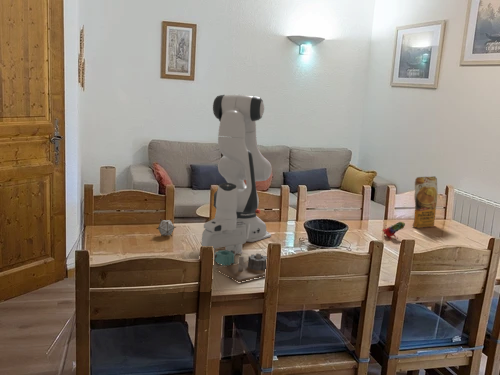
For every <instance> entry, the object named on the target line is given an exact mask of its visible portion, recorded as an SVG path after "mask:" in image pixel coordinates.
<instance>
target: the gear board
mask: <svg viewBox="0 0 500 375" xmlns="http://www.w3.org/2000/svg"><path fill="white" fill-rule="evenodd" d="M267 258H268V257H267V255H264V254H262V253H261V252H257V253H256V254H251V255H249V256H248V260H247V261H244V256H238V262H237V263H233V264H231V265H224V266H223V265H222V266H219V267H217V272H218V271H220V272H221V273H220V272H219V273H220V274H222V273H223V274H222V275H224V274H225V275H227V276H229V277H231V278H233V279H234V280H236V281H238V282H242V281H246V280H250V279H254V278H259V277H263V276H265V269H266V259H267ZM225 275H224V276H225ZM227 276H226V277H227ZM229 277H228V278H229ZM234 280H233V281H234ZM236 281H235V282H236Z"/></svg>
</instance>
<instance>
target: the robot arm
mask: <svg viewBox="0 0 500 375" xmlns="http://www.w3.org/2000/svg"><path fill="white" fill-rule="evenodd" d="M212 112H213V115H214V116H215V118H216V119H217V120H218V121H219V126H218V127H219V128H218V133H217V136H218V137H217V145H218V146H217V147H218V150H219V152H220V154H222V155H223V156H222V157H221V158H220V159H219V161H218V162H217V169H218V173H219V174H220V175H221V176H222V178H224V180H225V181H226V182H223V183H220V184H219V185H218V187H217V190H216V191H215V192H214V193H213V207H214V209H216V211H215V215H214V218H212V219H210V220H209V221H206V222H205V223H203V229H204V230H203V231H202V235H201V244H200V245H201V247H202V246H213V248H214V259H213V260H215V258H217V254H215V252H216V249H220V248H226V246H232V245H233V246H234V247H233V249H232V250H231V252H232V253H233V254H234V256H236V255H237V253H236V250H237V249H238V247H239V244H242V245H243V244H246V242H249V243H253V242H257V241H260V240H264V239H268V238H271V237H272V234H271V233H270V232H268V231H267V225H266V222H265V221H263V220H262V219H261V218H260V217H258V216H257V214H258V215H259V214H260V213H262V212H261V209H259V203H260V202H259V195H258V191H257V183H256V182H263V181H267V180H268V179H270V177H271V175H272V172H273V169H272V167H273V166H272V164H271V162H270V161H269V160H268V159H267V158H265V156H264V155H263V154H262V153H261V151H260V149H259V147H258V142H257V123H256V122H257V121H260V120H261V119H262V118H263V115H264V112H265V104H264V101H263V99H262V98H261V97H260V96H257V95H253V96H252V95H246V94H228V95H227V94H226V95H225V94H219V95H217V96H216V97H215V98H214V100H213V103H212Z"/></svg>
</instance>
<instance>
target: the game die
mask: <svg viewBox="0 0 500 375" xmlns="http://www.w3.org/2000/svg"><path fill="white" fill-rule="evenodd" d="M174 225H175V224H173V221H172V218H170V219H166V220H165V219H164V220H163V219H162V218H160V222H159V224H158V227H156V230H158V232H159V233H160V238H162V237H164V236H170V237H173V231H174V230H175V228H177V226H174Z"/></svg>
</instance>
